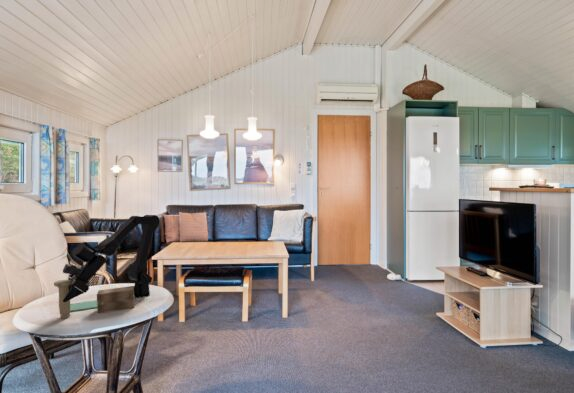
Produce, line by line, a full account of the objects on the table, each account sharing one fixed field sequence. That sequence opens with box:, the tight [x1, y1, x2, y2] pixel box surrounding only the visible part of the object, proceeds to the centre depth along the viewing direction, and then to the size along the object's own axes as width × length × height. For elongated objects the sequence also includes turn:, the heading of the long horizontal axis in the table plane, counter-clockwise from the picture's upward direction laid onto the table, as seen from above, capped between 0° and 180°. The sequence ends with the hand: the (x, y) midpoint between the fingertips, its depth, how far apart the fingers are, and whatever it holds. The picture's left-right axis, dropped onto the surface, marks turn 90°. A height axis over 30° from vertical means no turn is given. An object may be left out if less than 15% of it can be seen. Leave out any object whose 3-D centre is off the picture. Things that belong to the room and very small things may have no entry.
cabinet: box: [96, 285, 135, 314], centre depth 152 cm, size 14×8×8 cm, turn 111°
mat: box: [70, 299, 98, 313], centre depth 156 cm, size 14×10×1 cm
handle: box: [53, 279, 72, 320], centre depth 144 cm, size 5×6×15 cm
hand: (62, 298), depth 144 cm, fingers open, 9 cm apart
